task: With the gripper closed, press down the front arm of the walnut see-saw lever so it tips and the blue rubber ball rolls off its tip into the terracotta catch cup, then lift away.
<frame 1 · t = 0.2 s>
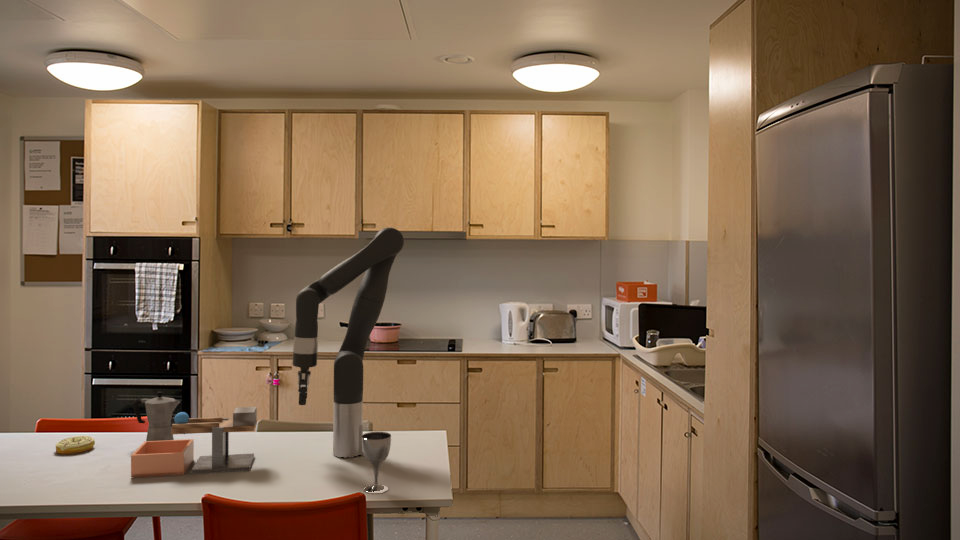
hand: (302, 401, 209), 18 cm above the table, tool pointing down, fingers open, 8 cm apart
coffeepot: (156, 445, 219), on the table
catch cup: (163, 468, 197), on the table
wine glass: (376, 489, 183), on the table
lever: (215, 420, 199), point 14 cm above the table, hinge at 0.0°, touching ball
ball: (181, 418, 197), point 15 cm above the table, touching lever
decorated donut: (75, 451, 213), on the table
lever stand: (220, 465, 200), on the table
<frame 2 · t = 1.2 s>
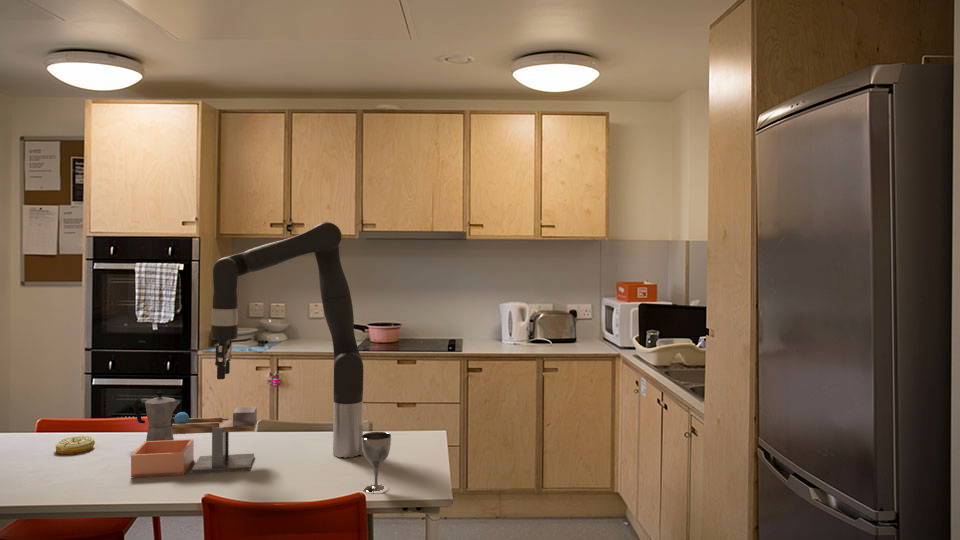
hand: (223, 376, 201), 27 cm above the table, tool pointing down, fingers open, 8 cm apart
nothing on the table moved.
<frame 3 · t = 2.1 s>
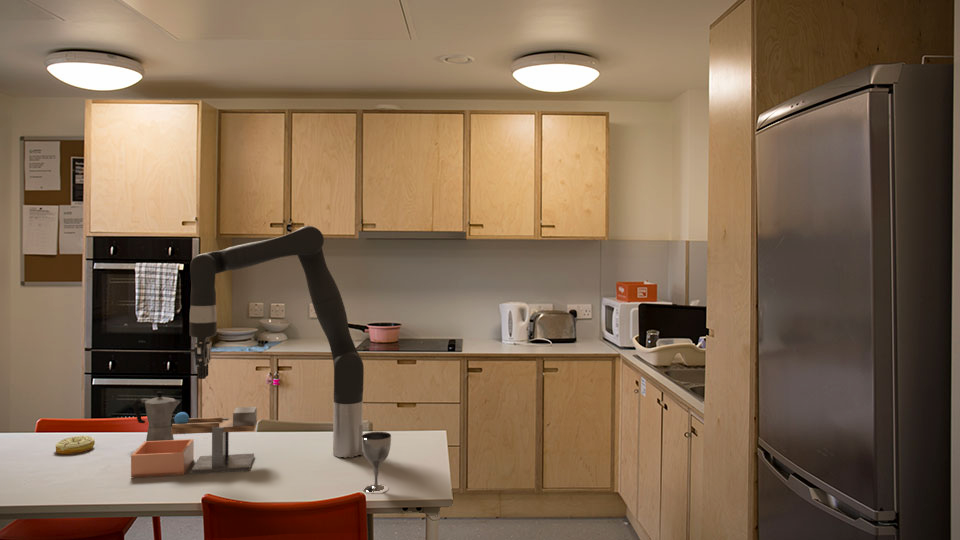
hand: (203, 377, 198), 27 cm above the table, tool pointing down, fingers open, 3 cm apart
nothing on the table moved.
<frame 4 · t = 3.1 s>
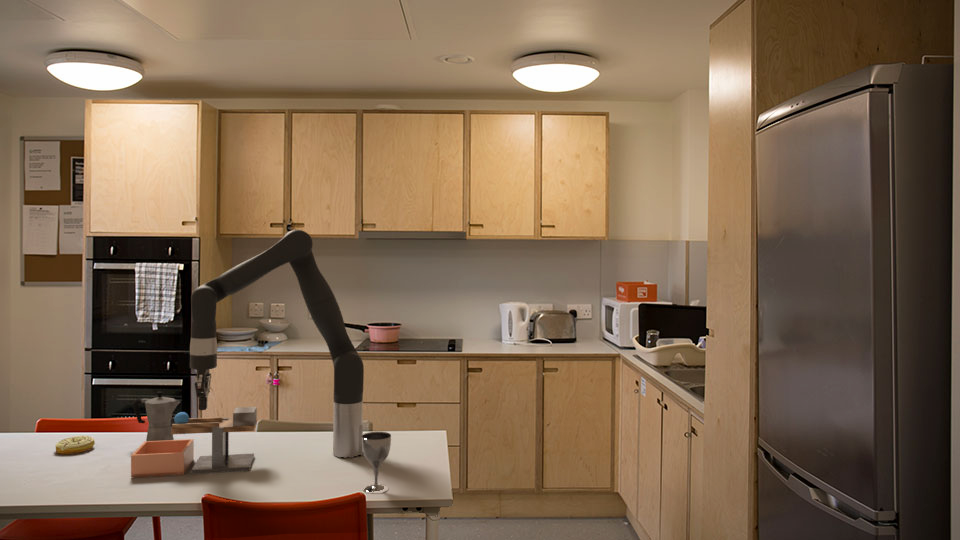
hand: (203, 409, 199), 17 cm above the table, tool pointing down, fingers closed
nothing on the table moved.
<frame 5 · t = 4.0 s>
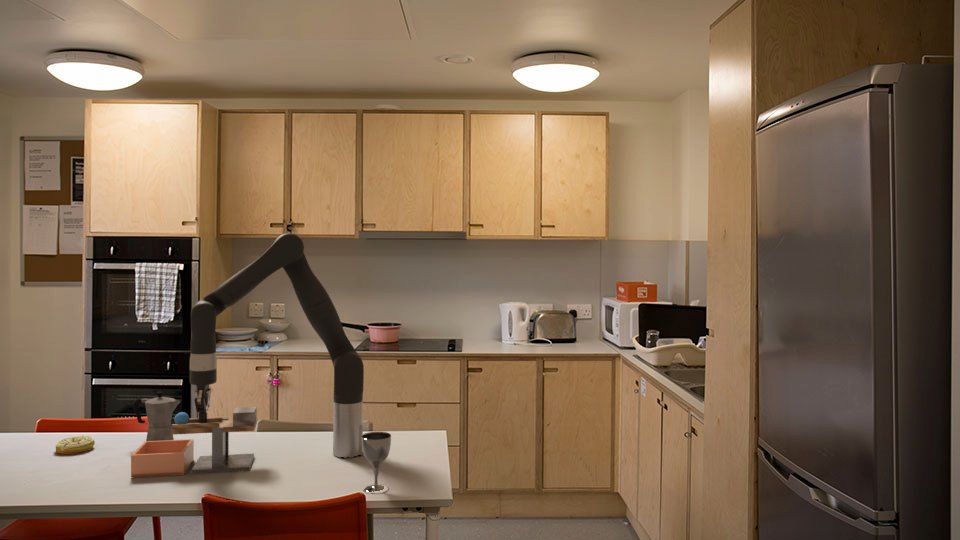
hand: (202, 424, 199), 13 cm above the table, tool pointing down, fingers closed
lever: (215, 420, 199), point 14 cm above the table, hinge at 0.3°, touching ball, gripper
everything else where it was.
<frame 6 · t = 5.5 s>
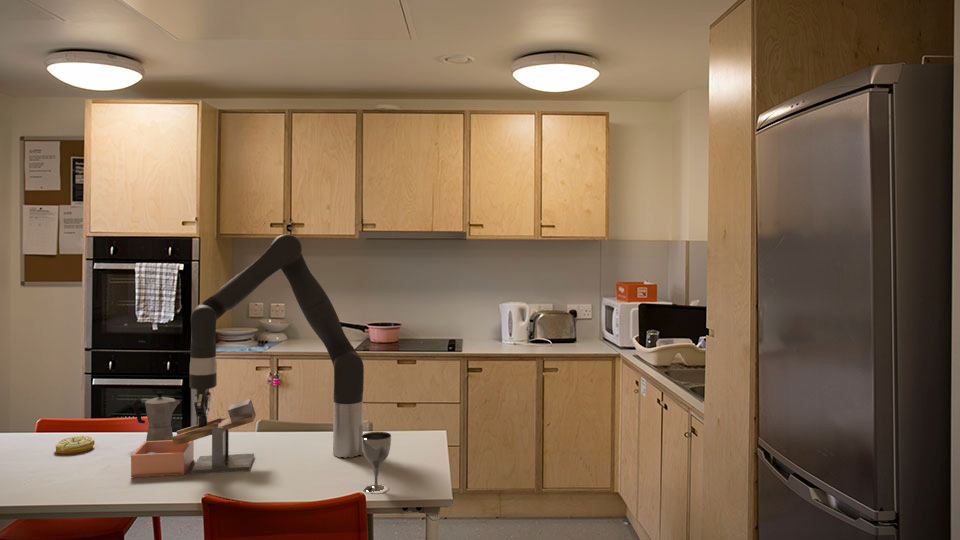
hand: (202, 428, 199), 12 cm above the table, tool pointing down, fingers closed
lever: (213, 421, 199), point 14 cm above the table, hinge at 16.2°, touching gripper
ball: (151, 459, 196), point 3 cm above the table, tilted 78°, touching catch cup
everything else where it was.
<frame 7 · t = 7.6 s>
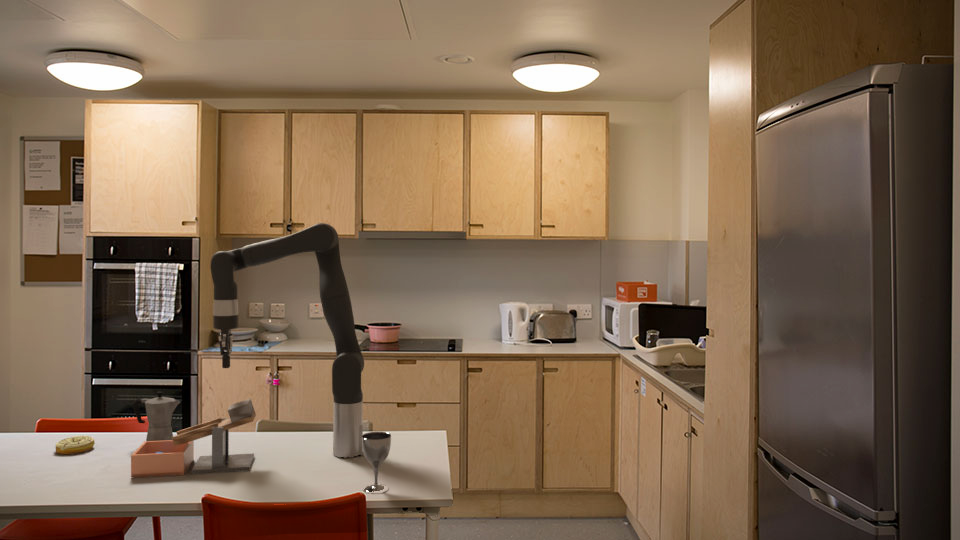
hand: (226, 367, 211), 28 cm above the table, tool pointing down, fingers closed
lever: (213, 421, 199), point 13 cm above the table, hinge at 16.6°
ball: (158, 458, 196), point 3 cm above the table, tilted 138°, touching catch cup
everything else where it was.
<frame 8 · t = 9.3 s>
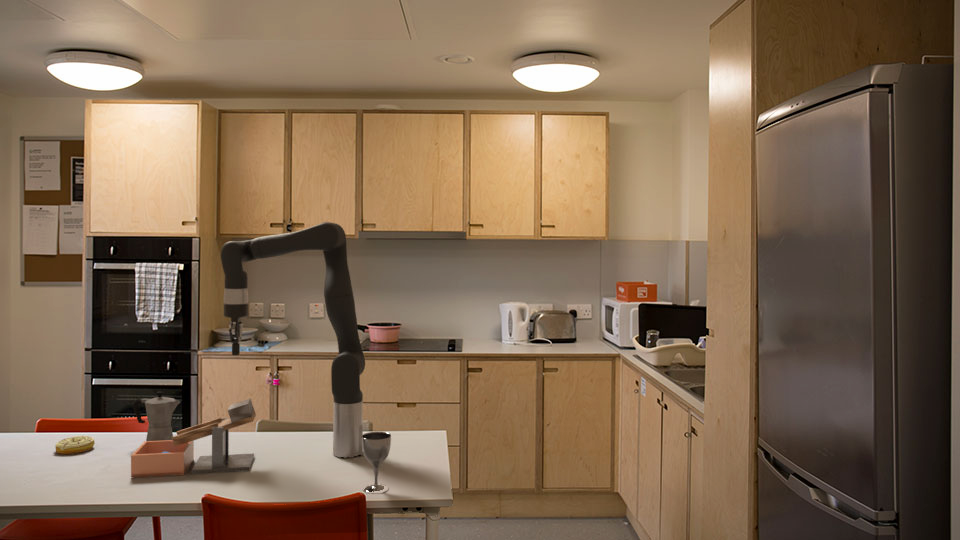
hand: (235, 354, 216), 31 cm above the table, tool pointing down, fingers closed
ball: (164, 458, 197), point 3 cm above the table, tilted 174°, touching catch cup
everything else where it was.
at the end: ball inside the target area on the catch cup (0.5 cm from its centre), point 3.0 cm above the catch cup's base; ball touching catch cup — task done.
